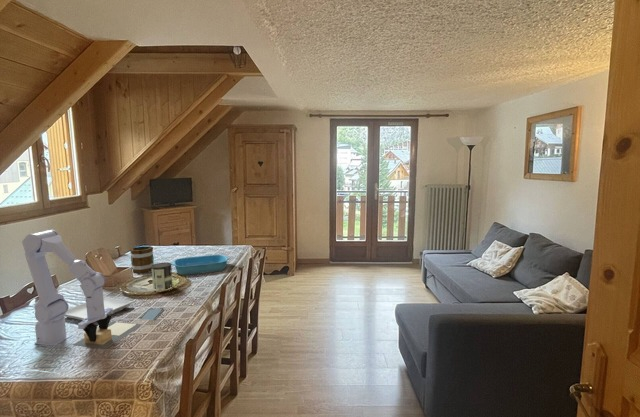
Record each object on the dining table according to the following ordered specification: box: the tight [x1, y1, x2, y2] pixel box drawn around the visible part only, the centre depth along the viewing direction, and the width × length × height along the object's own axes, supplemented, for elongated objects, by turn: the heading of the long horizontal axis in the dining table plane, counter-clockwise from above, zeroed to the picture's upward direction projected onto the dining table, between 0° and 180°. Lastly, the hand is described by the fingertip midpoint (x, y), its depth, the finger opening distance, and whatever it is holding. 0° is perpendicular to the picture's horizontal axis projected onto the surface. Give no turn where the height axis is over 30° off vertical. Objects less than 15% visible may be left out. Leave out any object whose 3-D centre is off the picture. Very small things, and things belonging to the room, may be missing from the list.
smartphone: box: [139, 307, 165, 321], centre depth 157 cm, size 7×1×15 cm
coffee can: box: [151, 261, 173, 290], centre depth 190 cm, size 10×10×14 cm
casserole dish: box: [170, 254, 230, 276], centre depth 225 cm, size 37×22×7 cm, turn 115°
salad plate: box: [64, 296, 133, 321], centre depth 160 cm, size 21×21×3 cm
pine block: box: [83, 327, 112, 345], centre depth 134 cm, size 8×4×4 cm, turn 80°
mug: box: [129, 245, 155, 274], centre depth 226 cm, size 20×14×15 cm
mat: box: [72, 321, 143, 350], centre depth 139 cm, size 15×20×1 cm
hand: (98, 337), depth 134 cm, fingers closed on pine block, 4 cm apart
